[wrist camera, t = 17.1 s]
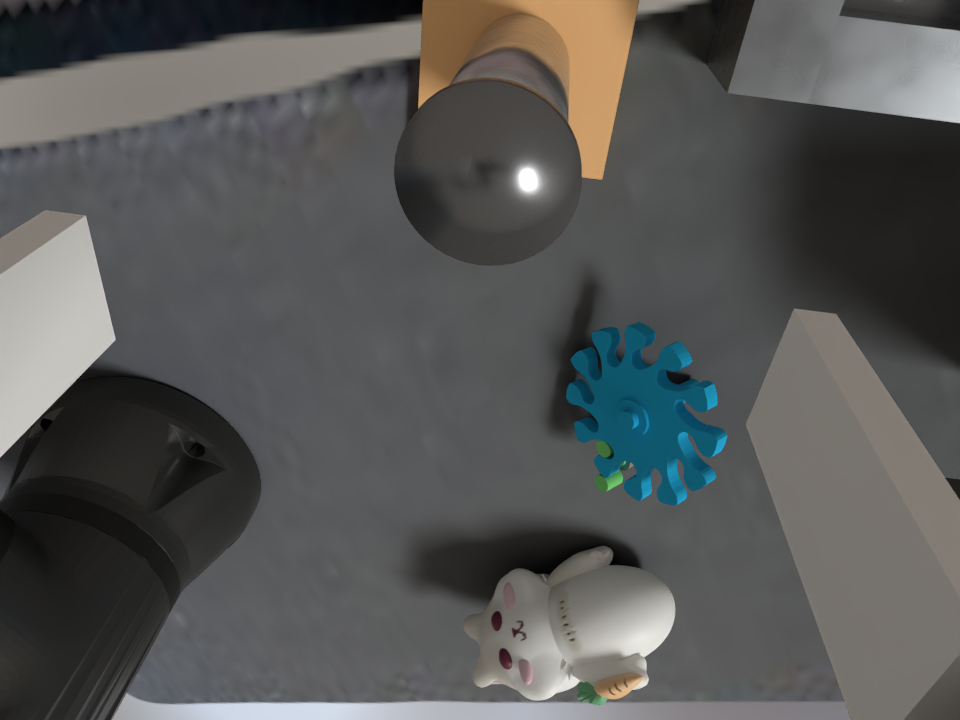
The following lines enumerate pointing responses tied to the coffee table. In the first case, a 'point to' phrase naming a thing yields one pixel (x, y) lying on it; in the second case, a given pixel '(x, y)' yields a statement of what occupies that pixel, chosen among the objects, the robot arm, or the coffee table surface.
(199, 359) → the coffee table surface
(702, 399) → the gear
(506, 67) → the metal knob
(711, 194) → the coffee table surface
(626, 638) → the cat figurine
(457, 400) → the coffee table surface
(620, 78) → the pad
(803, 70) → the grey piece
